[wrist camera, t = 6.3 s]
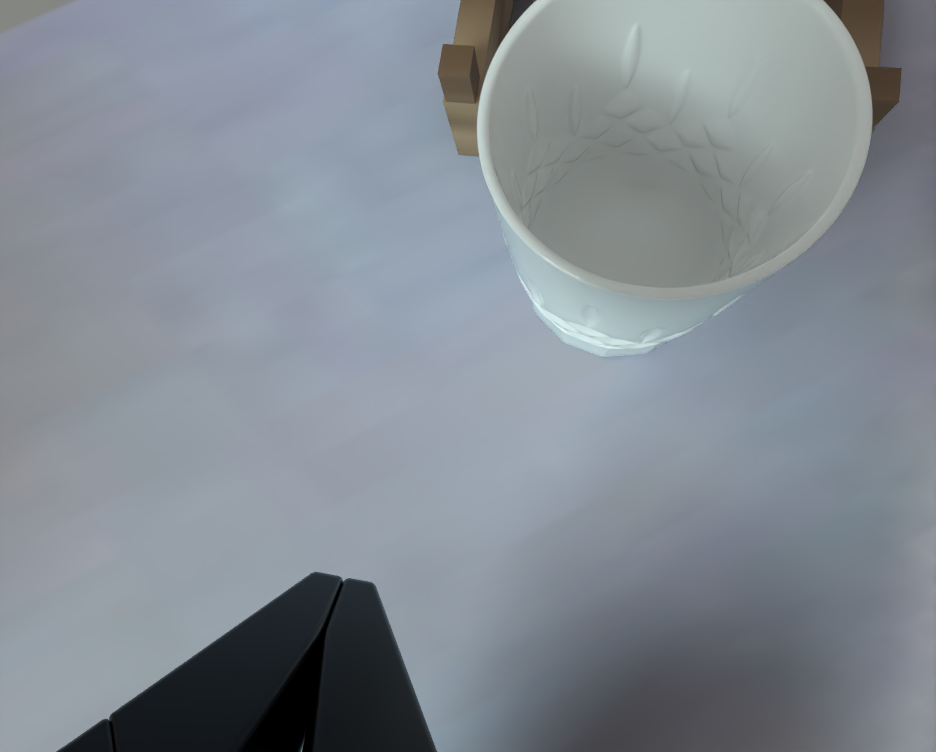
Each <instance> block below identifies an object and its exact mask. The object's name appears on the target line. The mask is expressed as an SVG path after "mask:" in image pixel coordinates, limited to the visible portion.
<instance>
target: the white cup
mask: <svg viewBox="0 0 936 752" xmlns="http://www.w3.org/2000/svg"><path fill="white" fill-rule="evenodd" d="M872 121H873V109H872V97H871V90H870V84H869V80H868V76H867V72H866V69H865V66H864V63H863V60H862V58H861V55H860V53H859V50H858V48H857V46H856V44H855V42H854V40H853V39H852V37H851V35H850V33H849V32H848V30H847V29H846V27H845V26H844V24H843V23H842V21H841V20H840V19H839V17H838V16H837V15H836V14H835V12H834V11H833V10H832V9H831V8H830V7H829V6H828V5H827V3H826V2H825V1H824V0H536V1H535V2H534V3H533V4H532V5H531V6H530V7H529V8H528V9H527V10H526V11H525V12H524V13H523V14H522V15H521V16H520V18H519V19H518V20H517V21H516V22H515V24H514V25H513V26H512V28H511V29H510V30H509V32H508V33H507V35H506V36H505V38H504V39H503V41H502V42H501V44H500V46H499V48H498V49H497V51H496V53H495V55H494V57H493V59H492V61H491V64H490V66H489V69H488V71H487V74H486V77H485V80H484V83H483V87H482V91H481V95H480V100H479V106H478V115H477V143H478V151H479V158H480V163H481V167H482V171H483V174H484V178H485V181H486V184H487V186H488V189H489V192H490V195H491V198H492V201H493V205H494V208H495V211H496V213H497V216H498V219H499V222H500V225H501V228H502V232H503V235H504V239H505V242H506V246H507V249H508V251H509V254H510V256H511V258H512V261H513V263H514V266H515V268H516V271H517V273H518V275H519V278H520V281H521V283H522V285H523V287H524V289H525V290H526V292H527V294H528V295H529V297H530V299H531V302H532V305H533V308H534V311H535V313H536V315H537V316H538V317H539V318H540V319H541V320H542V321H543V322H544V323H545V324H546V325H547V326H548V327H549V328H550V329H551V330H552V331H553V332H554V333H555V334H556V335H557V336H558V337H559V338H560V339H561V340H562V341H563V342H564V343H566V344H569V345H572V346H574V347H577V348H580V349H582V350H585V351H588V352H591V353H593V354H596V355H599V356H601V357H612V356H625V355H638V354H647V353H649V352H651V351H652V350H654V349H656V348H658V347H659V346H661V345H663V344H665V343H667V342H668V341H670V340H672V339H675V338H678V337H680V336H683V335H685V334H686V333H688V332H690V331H691V330H693V329H694V328H696V327H698V326H700V325H701V324H703V323H704V322H706V321H707V320H709V319H710V318H712V317H714V316H715V315H717V314H719V313H720V312H722V311H723V310H725V309H726V308H728V307H729V306H730V305H732V304H733V303H734V302H736V301H737V300H739V299H740V298H741V297H743V296H744V295H746V294H747V293H748V292H750V291H751V290H752V289H754V288H755V287H757V286H758V285H759V284H761V283H762V282H764V281H765V280H766V279H768V278H769V277H771V276H772V275H773V274H775V273H776V272H778V271H779V270H781V269H782V268H783V267H785V266H786V265H788V264H789V263H791V262H792V261H793V260H795V259H796V258H798V257H799V256H800V255H801V254H803V253H804V252H805V251H806V250H808V249H809V248H810V247H811V246H812V245H813V244H814V243H815V242H816V241H818V240H819V239H820V238H821V237H822V235H823V234H824V233H825V232H826V231H827V230H828V229H829V228H830V227H831V225H832V224H833V223H834V222H835V220H836V219H837V218H838V217H839V215H840V214H841V212H842V211H843V209H844V208H845V206H846V205H847V203H848V201H849V200H850V198H851V196H852V194H853V192H854V190H855V188H856V186H857V184H858V182H859V180H860V177H861V175H862V172H863V169H864V166H865V163H866V160H867V156H868V152H869V147H870V142H871V134H872Z"/></svg>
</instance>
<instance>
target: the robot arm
mask: <svg viewBox="0 0 936 752" xmlns="http://www.w3.org/2000/svg"><path fill="white" fill-rule="evenodd" d="M302 747H303V748H302ZM301 750H302V752H437V751H436V748H435V745H434V742H433V740H432V737H431V734H430V732H429V729H428V726H427V724H426V721H425V718H424V715H423V713H422V710H421V707H420V705H419V702H418V699H417V697H416V694H415V691H414V688H413V686H412V683H411V680H410V678H409V675H408V672H407V670H406V667H405V664H404V661H403V659H402V656H401V653H400V651H399V648H398V645H397V642H396V640H395V637H394V634H393V632H392V629H391V626H390V624H389V621H388V618H387V615H386V613H385V610H384V607H383V605H382V602H381V599H380V597H379V594H378V591H377V588H376V586H375V585H374V584H373V583H372V582H368V581H362V580H357V579H351V578H348V579H345V580H344V582H343V579H342V578H341V577H340V576H335V575H330V574H325V573H320V572H314V573H311V574H310V575H308V576H307V577H305V578H304V579H303V580H301V581H300V582H298V583H297V584H295V585H294V586H293V587H291V588H290V589H288V590H287V591H285V592H284V593H283V594H281V595H280V596H278V597H277V598H276V599H274V600H273V601H271V602H270V603H268V604H267V605H266V606H264V607H263V608H261V609H260V610H258V611H257V612H256V613H254V614H253V615H251V616H250V617H248V618H247V619H246V620H244V621H243V622H241V623H240V624H239V625H237V626H236V627H234V628H233V629H231V630H230V631H229V632H227V633H226V634H224V635H223V636H221V637H220V638H219V639H217V640H216V641H214V642H213V643H211V644H210V645H209V646H207V647H206V648H204V649H203V650H202V651H200V652H199V653H197V654H196V655H194V656H193V657H192V658H190V659H189V660H187V661H186V662H184V663H183V664H182V665H180V666H179V667H177V668H176V669H174V670H173V671H172V672H170V673H169V674H167V675H166V676H165V677H163V678H162V679H160V680H159V681H157V682H156V683H155V684H153V685H152V686H150V687H149V688H147V689H146V690H145V691H143V692H142V693H140V694H139V695H137V696H136V697H135V698H133V699H132V700H130V701H129V702H128V703H126V704H125V705H123V706H122V707H120V708H119V709H118V710H116V711H115V712H113V713H112V714H111V715H110V717H109V720H108V719H103V720H101V721H100V722H99V723H97V724H96V725H94V726H93V727H91V728H90V729H89V730H87V731H86V732H84V733H83V734H81V735H80V736H79V737H77V738H76V739H74V740H73V741H72V742H70V743H69V744H67V745H66V746H64V747H63V748H61V749H60V750H58V751H57V752H301Z"/></svg>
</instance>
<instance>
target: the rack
mask: <svg viewBox="0 0 936 752" xmlns="http://www.w3.org/2000/svg"><path fill="white" fill-rule="evenodd" d="M824 1H825V2H826V3H827V5H828V6H829V7H830V8H831V9H832V10H833V11H834V12H835V14H836V15H837V16H838V17H839V19H840V20H841V21H842V23H843V24H844V26H845V27H846V29H847V30H848V32H849V33H850V35H851V37H852V39H853V40H854V42H855V44H856V46H857V48H858V50H859V53H860V55H861V58H862V60H863V63H864V66H865V69H866V72H867V76H868V80H869V84H870V90H871V97H872V109H873V121H872V133H873V132H874V127H875V126H876V125H877V124H878V123H879V122H880V121H881V119H882V118H883V117H884V116H885V115H886V114H887V113H888V112H889V111H890V110H891V109H892V108H893V107H894V106H895V105H896V104H897V103H898V102H899V94H900V80H901V68H885V67H879V62H880V49H881V37H882V24H883V11H884V0H824ZM513 3H514V0H461V2H460V8H459V14H458V19H457V25H456V31H455V37H454V42H453V45H449V44H443V47H442V53H441V59H440V64H439V70H438V76H439V79H440V83H441V86H442V90H443V93H444V100H443V103H444V106H445V110H446V113H447V117H448V120H449V123H450V127H451V130H452V134H453V137H454V140H455V144H456V147H457V151H458V154H459V155H471V156H479V151H478V143H477V115H478V106H479V100H480V95H481V91H482V87H483V83H484V80H485V77H486V74H487V71H488V69H489V66H490V64H491V61H492V59H493V57H494V55H495V53H496V51H497V49H498V48H499V46H500V44H501V42H502V41H503V39H504V38H505V36H506V35H507V33H508V32H509V28H510V22H511V16H512V9H513Z"/></svg>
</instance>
